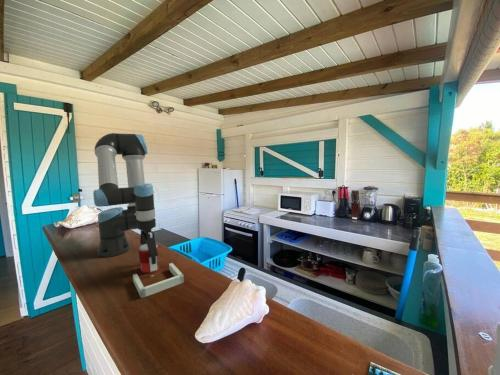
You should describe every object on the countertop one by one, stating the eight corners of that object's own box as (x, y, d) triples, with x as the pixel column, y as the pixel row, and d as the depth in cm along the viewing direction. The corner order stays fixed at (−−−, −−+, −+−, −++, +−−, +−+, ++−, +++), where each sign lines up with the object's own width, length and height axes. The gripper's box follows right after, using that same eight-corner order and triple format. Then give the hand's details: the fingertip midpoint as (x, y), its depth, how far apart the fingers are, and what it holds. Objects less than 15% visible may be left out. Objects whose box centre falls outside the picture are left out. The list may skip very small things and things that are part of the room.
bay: (133, 281, 89) (132, 274, 88) (172, 269, 99) (172, 262, 98) (141, 298, 78) (140, 290, 78) (184, 282, 88) (183, 275, 88)
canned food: (152, 274, 94) (150, 250, 93) (136, 272, 96) (134, 249, 94) (163, 266, 102) (161, 243, 100) (147, 264, 103) (146, 242, 102)
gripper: (131, 215, 103) (134, 257, 106) (143, 227, 84) (147, 279, 86) (148, 212, 108) (151, 253, 110) (163, 223, 88) (167, 272, 91)
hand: (149, 264), depth 98 cm, fingers open, 13 cm apart
